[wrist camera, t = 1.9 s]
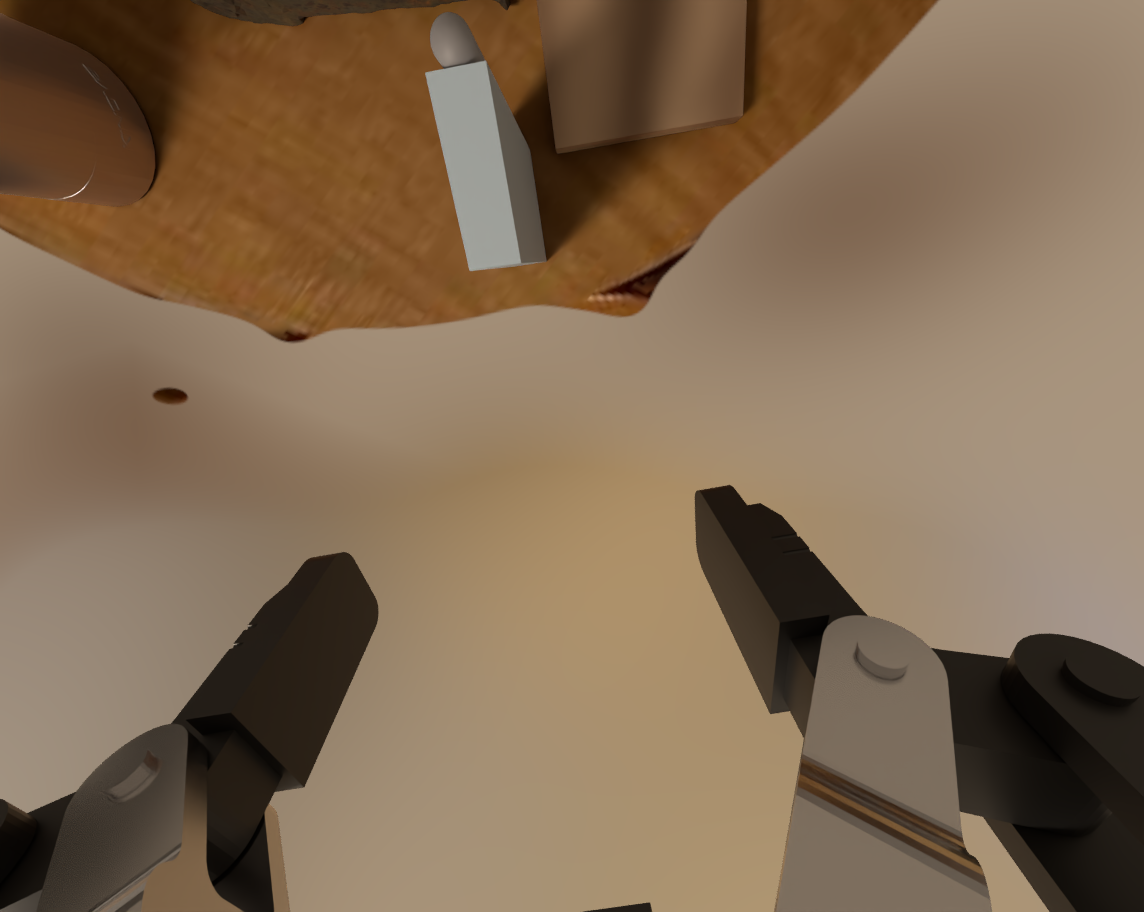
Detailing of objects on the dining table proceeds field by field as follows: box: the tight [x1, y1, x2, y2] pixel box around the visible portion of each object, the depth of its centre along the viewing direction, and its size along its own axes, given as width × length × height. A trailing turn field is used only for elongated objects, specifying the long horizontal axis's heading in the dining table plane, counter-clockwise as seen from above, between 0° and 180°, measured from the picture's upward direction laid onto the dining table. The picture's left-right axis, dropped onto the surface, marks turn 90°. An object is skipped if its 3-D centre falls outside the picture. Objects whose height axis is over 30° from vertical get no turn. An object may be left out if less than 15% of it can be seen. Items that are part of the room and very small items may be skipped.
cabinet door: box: [425, 12, 547, 271], centre depth 23 cm, size 2×9×14 cm, turn 8°
